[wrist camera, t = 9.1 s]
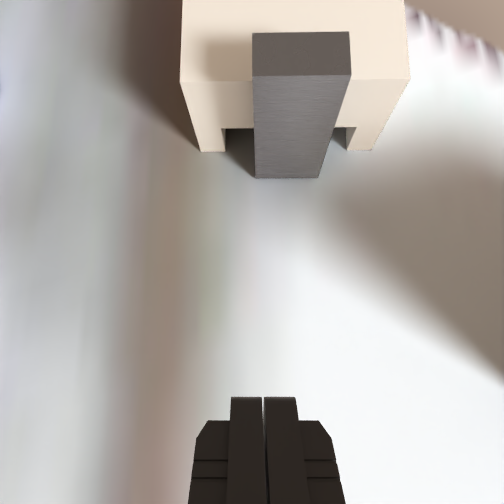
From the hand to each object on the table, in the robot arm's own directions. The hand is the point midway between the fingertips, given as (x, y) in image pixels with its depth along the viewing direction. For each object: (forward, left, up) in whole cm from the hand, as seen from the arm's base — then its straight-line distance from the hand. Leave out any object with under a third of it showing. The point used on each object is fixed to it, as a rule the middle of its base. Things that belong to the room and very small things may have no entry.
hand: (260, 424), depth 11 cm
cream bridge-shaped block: (-15, +18, -23) cm, 33 cm away
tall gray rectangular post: (-15, +18, -23) cm, 32 cm away
